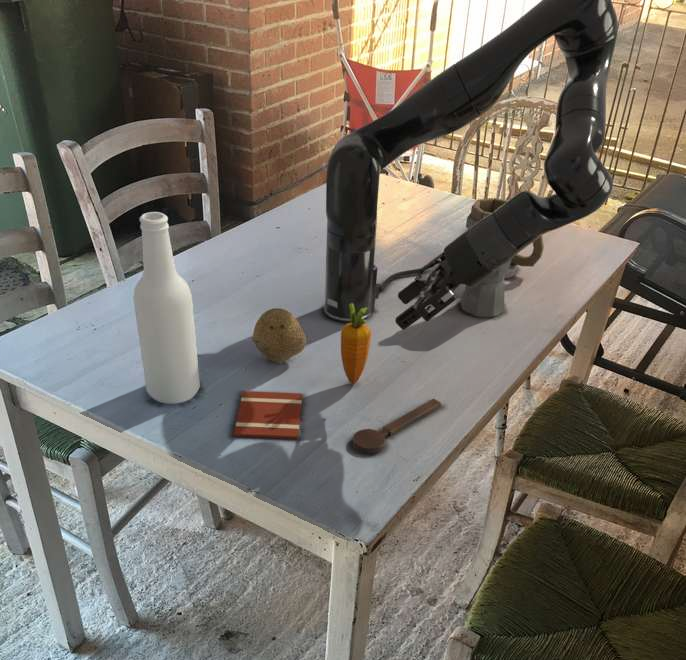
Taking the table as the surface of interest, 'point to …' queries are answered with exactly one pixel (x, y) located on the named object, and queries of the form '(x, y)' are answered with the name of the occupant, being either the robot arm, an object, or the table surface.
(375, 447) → the wooden spoon
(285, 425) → the tea towel
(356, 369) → the carrot
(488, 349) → the table surface
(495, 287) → the coffeepot
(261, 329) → the brown round lump
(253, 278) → the table surface
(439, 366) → the table surface
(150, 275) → the alcohol
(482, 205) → the tankard
